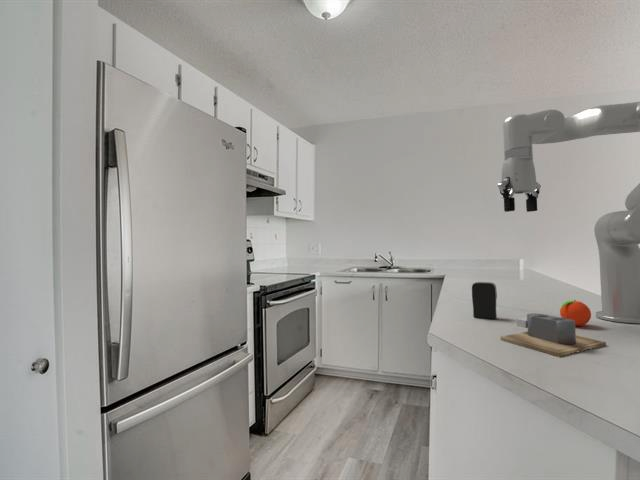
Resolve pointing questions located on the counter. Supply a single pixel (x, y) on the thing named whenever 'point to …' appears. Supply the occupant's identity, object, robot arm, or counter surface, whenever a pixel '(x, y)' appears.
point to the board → (553, 344)
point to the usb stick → (549, 328)
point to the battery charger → (484, 300)
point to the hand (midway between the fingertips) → (520, 211)
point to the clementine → (576, 312)
